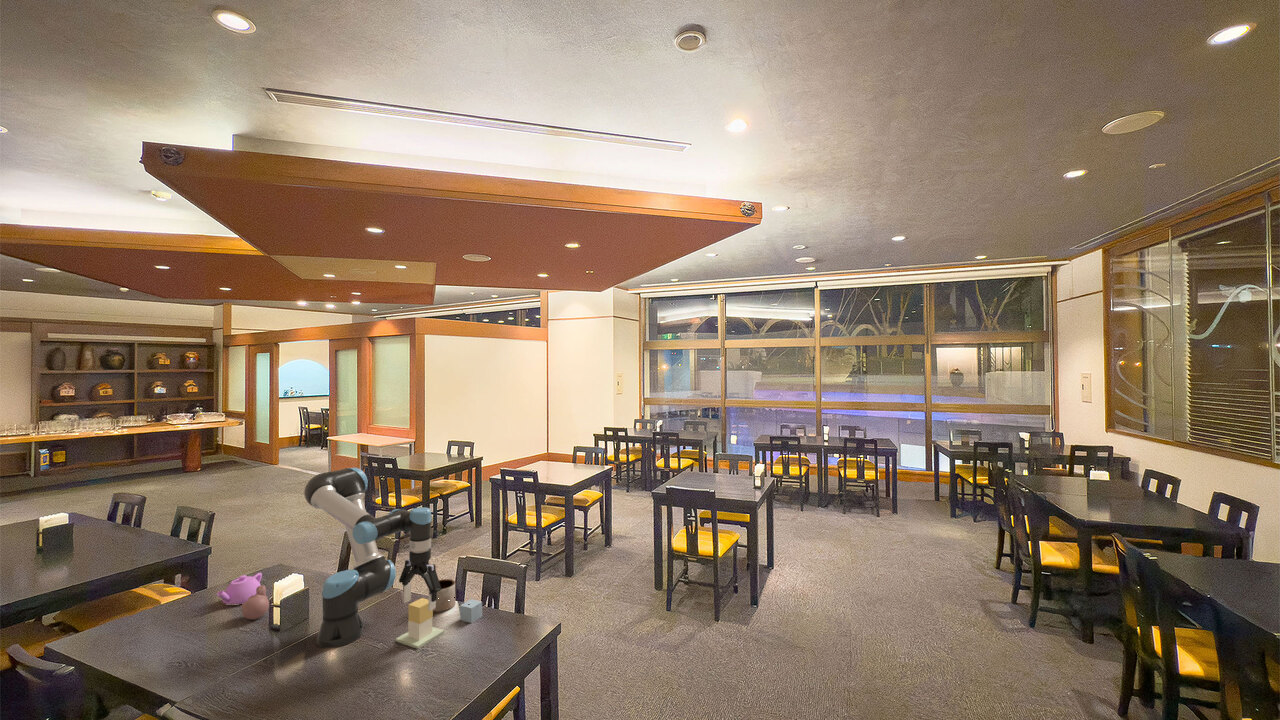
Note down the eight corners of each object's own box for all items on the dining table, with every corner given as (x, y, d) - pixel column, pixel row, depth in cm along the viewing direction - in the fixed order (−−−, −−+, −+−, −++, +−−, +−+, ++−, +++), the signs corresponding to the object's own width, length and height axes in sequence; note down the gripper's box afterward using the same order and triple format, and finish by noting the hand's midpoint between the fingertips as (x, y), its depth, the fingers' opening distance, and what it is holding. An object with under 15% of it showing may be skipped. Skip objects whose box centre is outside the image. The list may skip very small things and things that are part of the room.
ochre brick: (408, 620, 185) (408, 604, 185) (421, 613, 190) (421, 597, 190) (419, 624, 182) (419, 607, 182) (432, 616, 187) (432, 600, 188)
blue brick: (460, 620, 198) (460, 605, 199) (471, 613, 204) (471, 599, 204) (471, 623, 196) (471, 608, 196) (482, 616, 201) (482, 601, 201)
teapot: (204, 610, 209) (204, 585, 209) (248, 590, 229) (248, 567, 229) (232, 612, 207) (232, 587, 207) (274, 591, 226) (274, 568, 227)
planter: (449, 612, 205) (449, 589, 205) (423, 613, 205) (423, 590, 205) (459, 600, 215) (459, 578, 216) (434, 600, 216) (434, 578, 216)
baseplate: (395, 641, 183) (395, 622, 183) (422, 626, 194) (422, 608, 194) (418, 649, 178) (418, 629, 178) (444, 632, 189) (444, 614, 189)
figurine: (254, 611, 208) (254, 582, 208) (274, 614, 205) (274, 585, 205) (232, 621, 199) (232, 592, 199) (253, 624, 196) (253, 594, 197)
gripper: (389, 547, 189) (388, 602, 188) (435, 559, 178) (434, 617, 178) (406, 541, 195) (405, 594, 195) (451, 552, 185) (450, 608, 184)
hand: (419, 605), depth 186 cm, fingers open, 13 cm apart
